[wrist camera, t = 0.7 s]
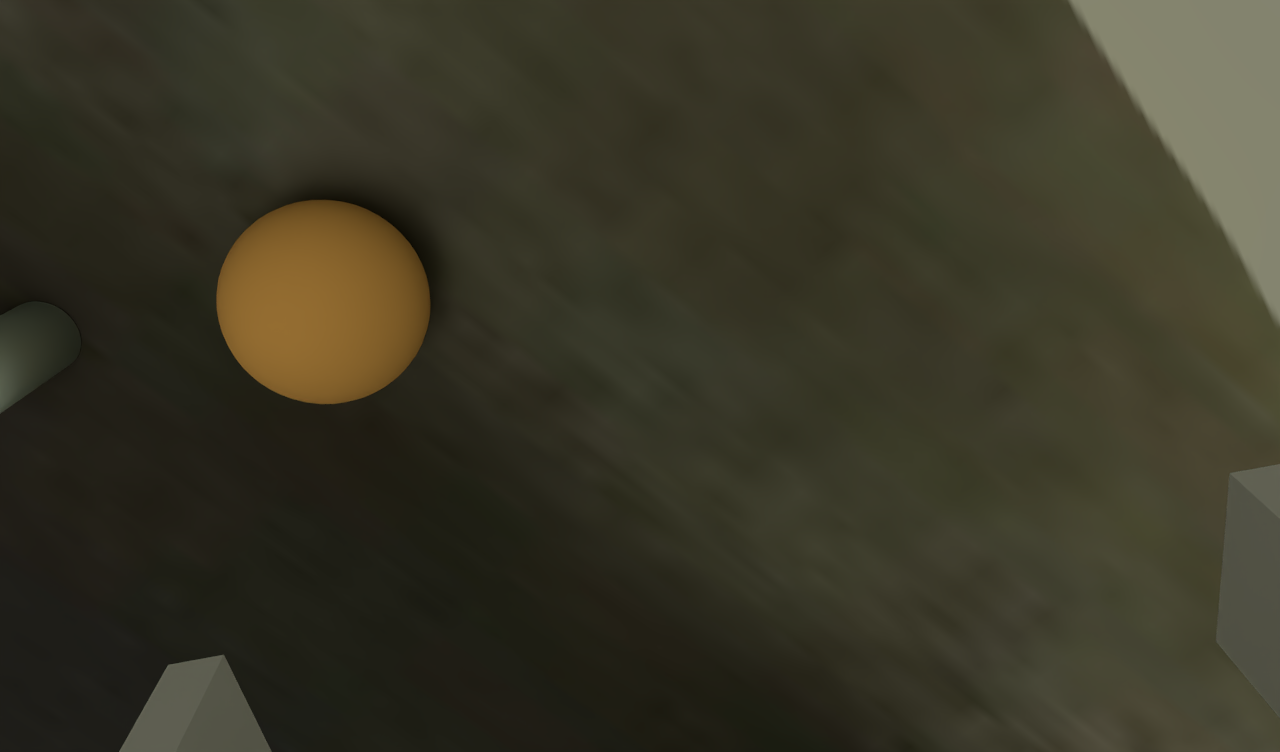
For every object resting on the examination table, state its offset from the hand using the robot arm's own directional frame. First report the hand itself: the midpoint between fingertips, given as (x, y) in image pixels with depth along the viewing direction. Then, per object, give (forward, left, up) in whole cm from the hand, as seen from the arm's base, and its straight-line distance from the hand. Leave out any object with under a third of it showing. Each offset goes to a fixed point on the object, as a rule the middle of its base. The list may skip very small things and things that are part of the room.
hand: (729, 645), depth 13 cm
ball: (+1, +10, -17) cm, 20 cm away
